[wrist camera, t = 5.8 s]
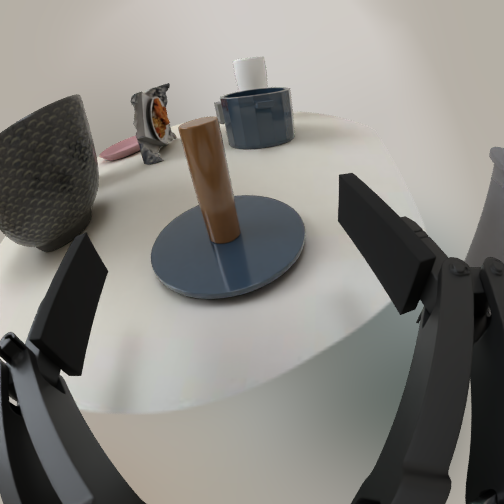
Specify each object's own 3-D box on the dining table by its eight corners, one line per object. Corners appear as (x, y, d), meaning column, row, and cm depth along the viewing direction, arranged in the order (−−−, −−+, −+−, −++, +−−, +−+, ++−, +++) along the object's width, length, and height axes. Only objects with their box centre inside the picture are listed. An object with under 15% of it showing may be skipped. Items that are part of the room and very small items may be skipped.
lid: (283, 195, 27) (271, 96, 20) (328, 281, 17) (331, 125, 11) (164, 221, 27) (132, 128, 20) (146, 318, 17) (73, 186, 11)
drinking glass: (256, 125, 52) (246, 58, 42) (237, 123, 56) (225, 62, 47) (279, 118, 55) (270, 55, 45) (259, 116, 59) (250, 58, 49)
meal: (166, 160, 43) (147, 89, 34) (144, 166, 43) (124, 97, 35) (183, 137, 54) (169, 82, 46) (165, 141, 55) (151, 88, 46)
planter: (41, 221, 35) (6, 140, 25) (124, 184, 38) (94, 90, 27) (4, 290, 22) (-56, 183, 12) (109, 247, 25) (49, 99, 14)
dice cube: (241, 119, 59) (238, 100, 56) (221, 123, 58) (217, 104, 55) (236, 116, 63) (233, 98, 60) (217, 120, 62) (214, 102, 59)
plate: (124, 145, 63) (122, 138, 62) (167, 135, 59) (165, 128, 58) (91, 168, 53) (88, 160, 52) (133, 158, 49) (131, 149, 48)
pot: (281, 124, 50) (276, 85, 45) (309, 147, 37) (304, 92, 32) (225, 133, 50) (218, 94, 45) (233, 159, 37) (222, 103, 32)
